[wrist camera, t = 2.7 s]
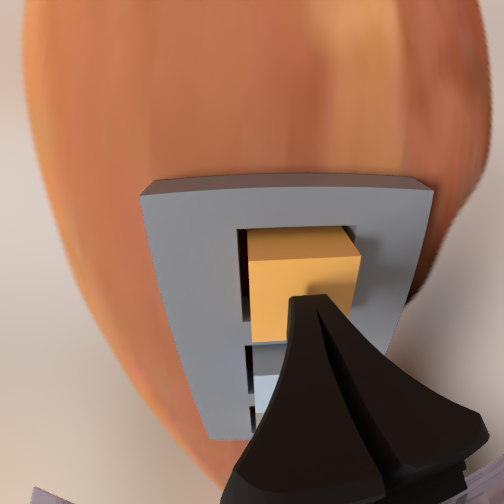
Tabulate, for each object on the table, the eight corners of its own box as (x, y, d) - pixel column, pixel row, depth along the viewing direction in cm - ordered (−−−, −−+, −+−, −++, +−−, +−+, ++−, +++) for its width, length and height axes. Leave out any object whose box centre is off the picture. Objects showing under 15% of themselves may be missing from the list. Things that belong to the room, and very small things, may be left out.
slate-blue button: (315, 375, 17) (322, 407, 15) (253, 380, 17) (255, 413, 15) (324, 334, 15) (334, 368, 13) (252, 339, 15) (253, 376, 13)
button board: (343, 411, 23) (347, 429, 21) (210, 421, 22) (210, 439, 21) (411, 177, 12) (434, 190, 10) (153, 181, 12) (138, 195, 10)
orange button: (330, 299, 14) (343, 335, 12) (250, 304, 14) (252, 342, 12) (341, 225, 12) (361, 255, 10) (247, 229, 12) (248, 261, 10)
